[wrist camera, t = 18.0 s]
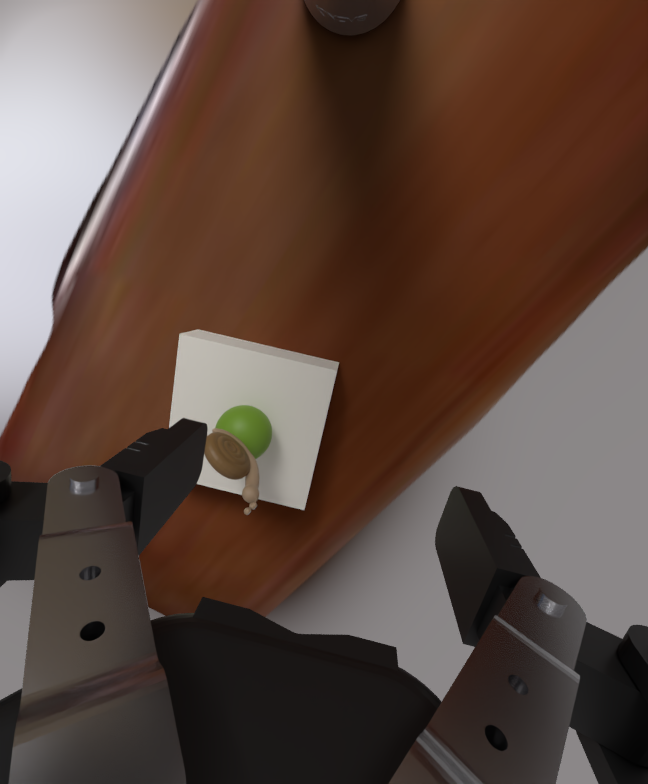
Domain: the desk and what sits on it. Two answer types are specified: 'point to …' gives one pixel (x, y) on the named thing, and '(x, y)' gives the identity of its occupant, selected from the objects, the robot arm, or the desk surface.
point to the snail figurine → (240, 447)
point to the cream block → (257, 406)
